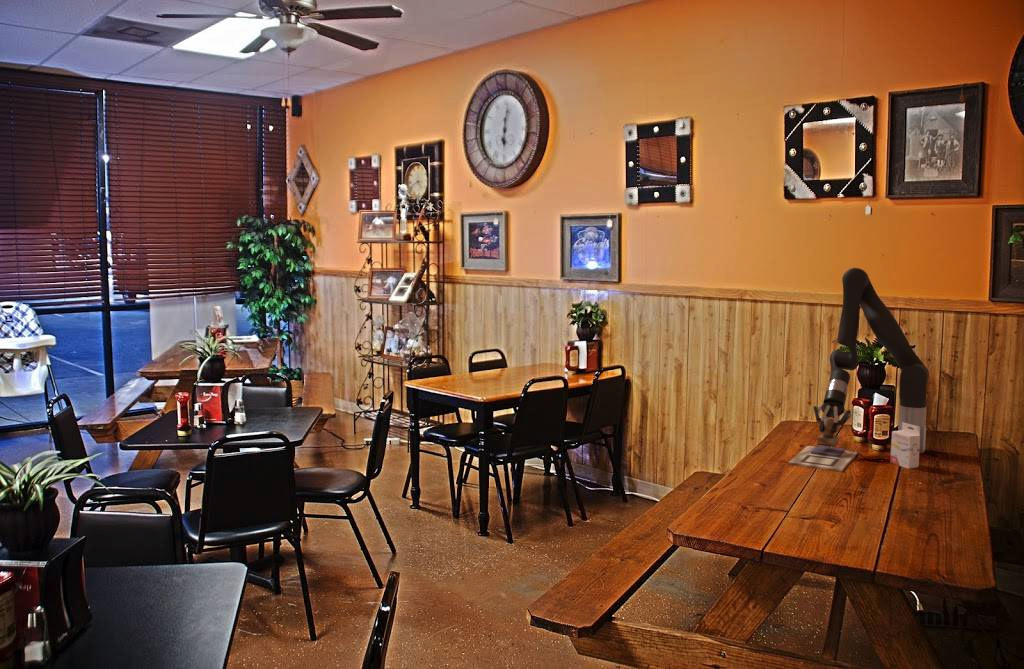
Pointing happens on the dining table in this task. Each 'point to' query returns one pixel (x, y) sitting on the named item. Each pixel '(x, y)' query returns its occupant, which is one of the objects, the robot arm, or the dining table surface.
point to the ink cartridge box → (906, 446)
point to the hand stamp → (828, 435)
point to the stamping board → (823, 458)
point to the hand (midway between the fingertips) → (827, 432)
